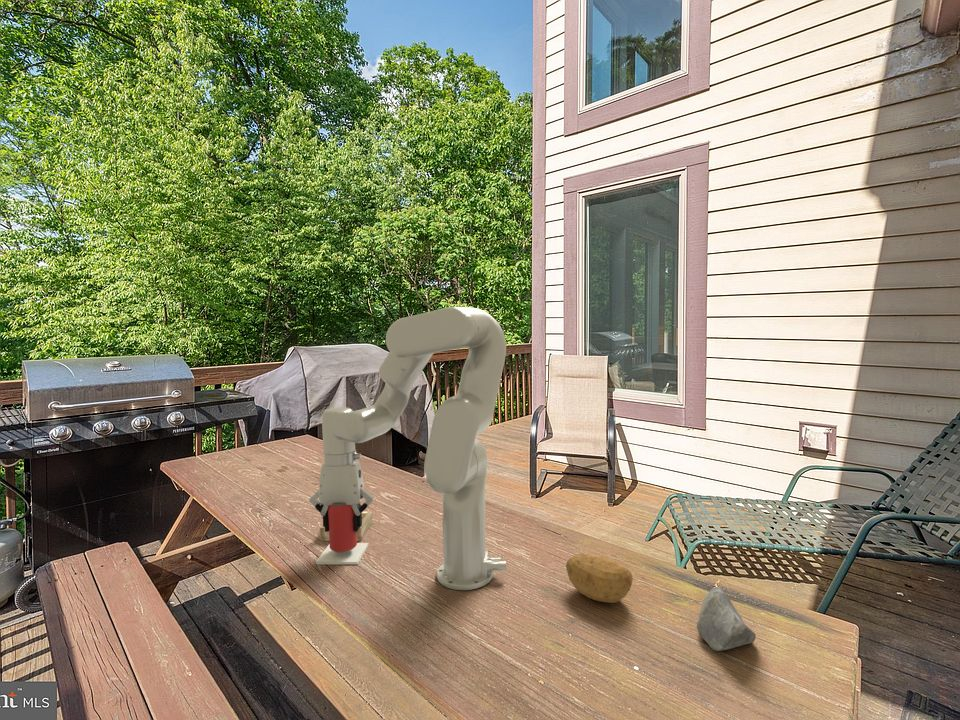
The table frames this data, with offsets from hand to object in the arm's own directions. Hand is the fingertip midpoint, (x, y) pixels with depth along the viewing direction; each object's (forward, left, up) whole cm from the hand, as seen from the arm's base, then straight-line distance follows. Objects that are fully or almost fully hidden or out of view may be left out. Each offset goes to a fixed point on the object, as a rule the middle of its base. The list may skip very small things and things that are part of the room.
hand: (342, 528), depth 119 cm
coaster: (0, 0, -7) cm, 7 cm away
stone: (-78, +31, -7) cm, 84 cm away
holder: (+3, -13, -7) cm, 15 cm away
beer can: (0, 0, -5) cm, 5 cm away
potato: (-59, +18, -7) cm, 62 cm away
